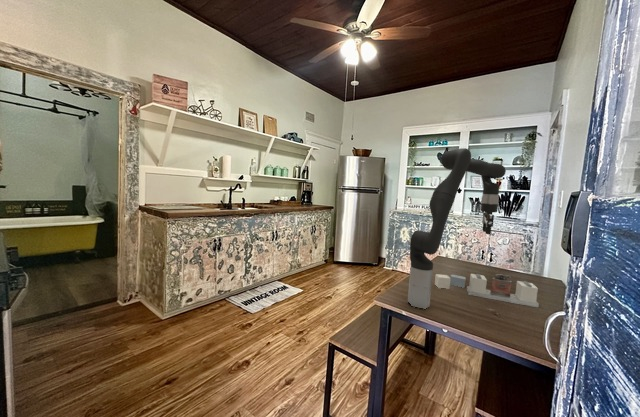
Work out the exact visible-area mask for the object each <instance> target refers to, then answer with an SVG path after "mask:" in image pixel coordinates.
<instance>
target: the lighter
mask: <svg viewBox="0 0 640 417" xmlns="http://www.w3.org/2000/svg"><path fill="white" fill-rule="evenodd" d="M511 278H512V277H511V275H507V274H502V273H499V274H498V273H495V276H494V277H491V288H490V290H491V293H493V294H497V295H501V296H507V297H510V294H511V288H512V283H513V281H512V280H511Z"/></svg>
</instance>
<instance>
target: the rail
mask: <svg viewBox="0 0 640 417" xmlns="http://www.w3.org/2000/svg"><path fill="white" fill-rule="evenodd" d="M466 292H467V294H468V296H469V295H470V296H474V297H479V298H484V299H485V298H486V299H491V300H496V301H499V302H506V303H512V304H515V305H516V304H517V305H522V306H527V307H531V308H539V304H540V303H539V302H538V301H537V300H536V303H533V302H528V301H522V300H520V299H519V298H518V297H517V296H516V295H515V293H510V297H507V296H501V295H497V294H493V293H491V289H488V288H486V292H485V294H484V293H478V292H472V291H471V289H470V287H469V286H468V285H467V286H466Z"/></svg>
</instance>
